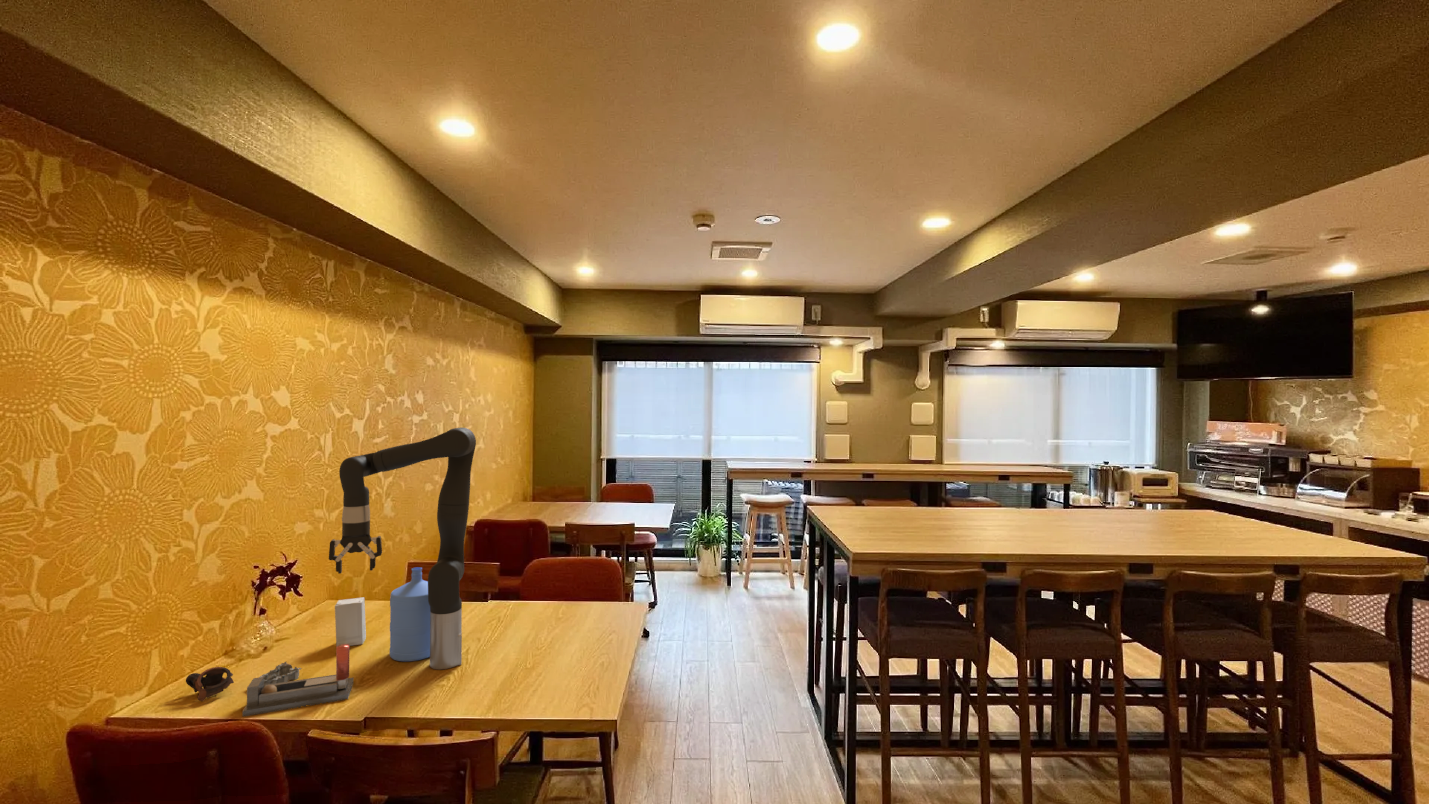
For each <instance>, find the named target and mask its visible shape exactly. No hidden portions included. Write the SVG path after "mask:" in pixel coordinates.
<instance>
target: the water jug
mask: <svg viewBox="0 0 1429 804" xmlns="http://www.w3.org/2000/svg"><path fill="white" fill-rule="evenodd" d="M422 571H423V567H419V566H417V567H416V566H415V567H413V568H411V575H410V576H411V579H410V581H409V582H406V583H404V584H403V585H401V586H399V587H397V588H395V589H393V590H392V591H391V593H390V598H389V607H390V618H389V619H390V623H389V634H390V635H389V640H390V641H389V642H390V643H389V657H390V658H391V659H392V660H394V661H397V662H406V663H407V662H417V661H421V660H425V659H428V658H430V605H429V602H428V580H424V579H423V572H422Z"/></svg>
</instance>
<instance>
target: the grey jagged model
mask: <svg viewBox="0 0 1429 804" xmlns="http://www.w3.org/2000/svg"><path fill="white" fill-rule="evenodd" d="M300 670H302V668H301V667H297V666H294V668H293V666H292V664H291V663H287V661H285V662H281V663H280V664H278V665H276V666H275V668H274V669H270V670H269V671H268V672H267V673H265V674H262V675H260V676H259V677H264V687H265V686H266V685H269V684H276V683H283V682H289V681H296V680H299V677H300Z"/></svg>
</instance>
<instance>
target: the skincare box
mask: <svg viewBox="0 0 1429 804" xmlns="http://www.w3.org/2000/svg"><path fill="white" fill-rule="evenodd" d="M365 602H366V599H365V597H356V598H346V599H338V600H337V602H336V604H334V618H335V641H336V642H335V647H337V646H338V645H341V644H349V645H350V646H357V645H358V646H359V645H363V644H364V643H365V641H366V640H367V639H366V638H367V631H366V630H367V628H366V605H365Z"/></svg>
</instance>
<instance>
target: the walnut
mask: <svg viewBox="0 0 1429 804" xmlns="http://www.w3.org/2000/svg"><path fill="white" fill-rule="evenodd" d="M273 692H277V688H276V686H274V685H267V686H265V687H264V688H263V689H262V691H261V694H267V693H273Z"/></svg>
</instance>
